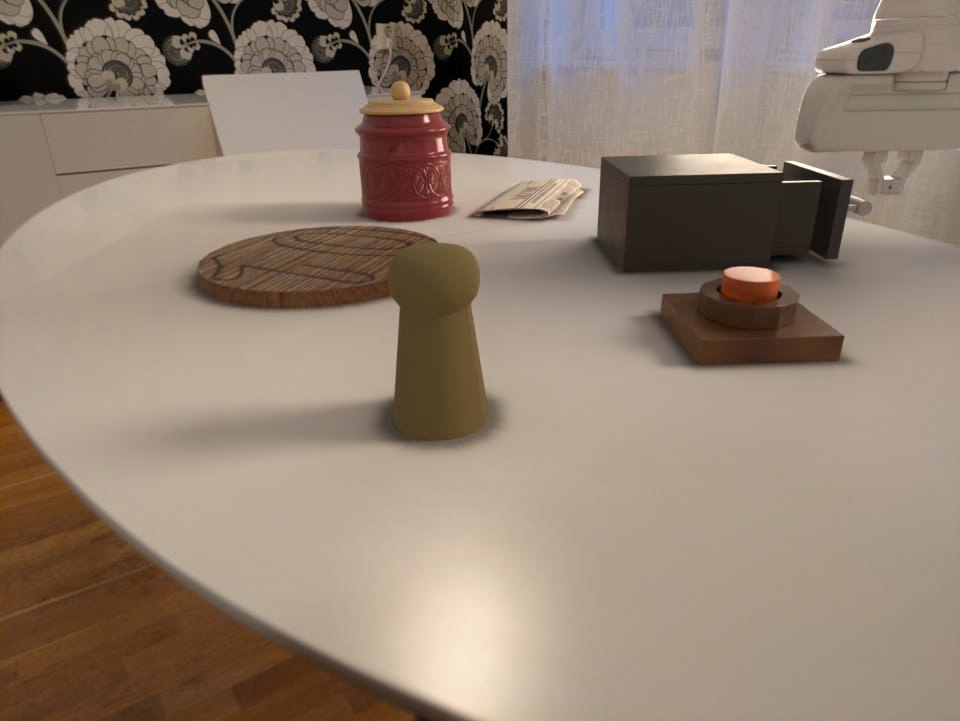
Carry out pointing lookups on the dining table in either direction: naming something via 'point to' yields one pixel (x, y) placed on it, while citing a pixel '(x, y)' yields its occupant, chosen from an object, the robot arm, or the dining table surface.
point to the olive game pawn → (437, 343)
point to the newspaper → (536, 199)
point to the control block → (748, 328)
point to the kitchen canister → (404, 158)
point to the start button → (750, 284)
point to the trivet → (306, 266)
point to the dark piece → (813, 211)
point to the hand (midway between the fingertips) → (883, 194)
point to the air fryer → (687, 212)
